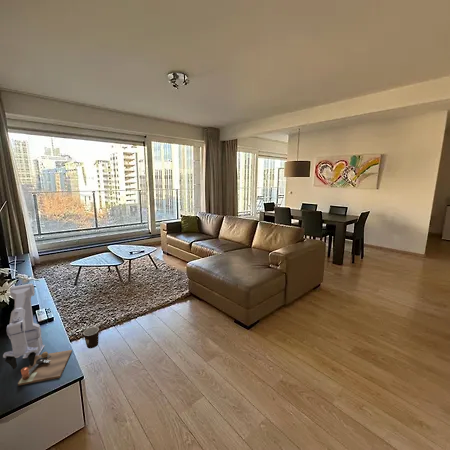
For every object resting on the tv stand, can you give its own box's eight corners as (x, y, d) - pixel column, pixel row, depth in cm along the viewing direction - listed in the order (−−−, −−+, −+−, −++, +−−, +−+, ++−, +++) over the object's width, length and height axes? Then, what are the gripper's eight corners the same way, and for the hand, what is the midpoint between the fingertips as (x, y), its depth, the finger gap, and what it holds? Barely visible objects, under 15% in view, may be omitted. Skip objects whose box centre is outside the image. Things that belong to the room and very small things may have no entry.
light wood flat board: (35, 357, 144) (34, 350, 143) (72, 351, 149) (71, 344, 148) (17, 385, 125) (16, 378, 124) (60, 378, 130) (58, 370, 129)
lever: (40, 360, 140) (38, 352, 139) (51, 360, 140) (50, 352, 139) (20, 379, 127) (18, 371, 126) (33, 380, 127) (31, 371, 126)
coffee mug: (102, 345, 155) (100, 331, 153) (87, 351, 149) (85, 337, 147) (96, 336, 163) (94, 323, 161) (81, 342, 157) (80, 328, 155)
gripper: (-3, 351, 119) (2, 375, 122) (32, 346, 122) (36, 369, 125) (5, 342, 125) (10, 364, 128) (38, 337, 129) (42, 359, 132)
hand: (23, 366), depth 127 cm, fingers open, 7 cm apart
